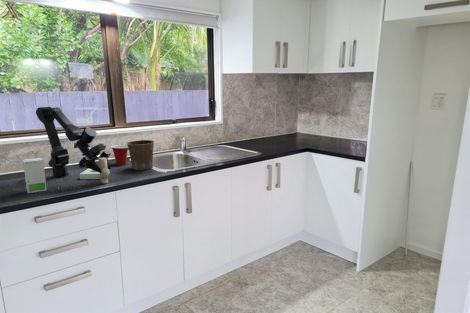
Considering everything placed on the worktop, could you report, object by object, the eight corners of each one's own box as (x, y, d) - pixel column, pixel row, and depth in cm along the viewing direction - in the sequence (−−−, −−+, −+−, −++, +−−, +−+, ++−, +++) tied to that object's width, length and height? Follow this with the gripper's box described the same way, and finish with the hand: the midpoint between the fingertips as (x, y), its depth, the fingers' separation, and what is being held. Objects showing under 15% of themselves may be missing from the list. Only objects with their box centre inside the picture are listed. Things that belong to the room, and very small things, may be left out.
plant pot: (123, 171, 195) (121, 144, 191) (135, 164, 210) (133, 139, 207) (149, 171, 192) (148, 144, 189) (159, 165, 208) (158, 140, 205)
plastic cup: (132, 164, 210) (131, 146, 208) (115, 166, 204) (113, 148, 202) (127, 161, 219) (126, 143, 216) (111, 163, 213) (109, 145, 211)
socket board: (80, 179, 178) (79, 174, 178) (89, 173, 190) (88, 168, 189) (102, 178, 179) (101, 173, 178) (109, 173, 190) (109, 168, 190)
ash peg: (99, 183, 170) (96, 159, 167) (102, 181, 174) (99, 157, 171) (107, 183, 170) (105, 159, 167) (110, 181, 174) (108, 157, 171)
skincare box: (27, 193, 156) (22, 161, 152) (26, 190, 161) (21, 159, 157) (47, 190, 160) (43, 159, 157) (46, 187, 166) (41, 157, 162)
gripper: (80, 141, 159) (101, 165, 158) (106, 135, 177) (125, 157, 176) (69, 156, 164) (89, 179, 163) (96, 149, 181) (114, 170, 180)
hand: (105, 170), depth 170 cm, fingers open, 6 cm apart
